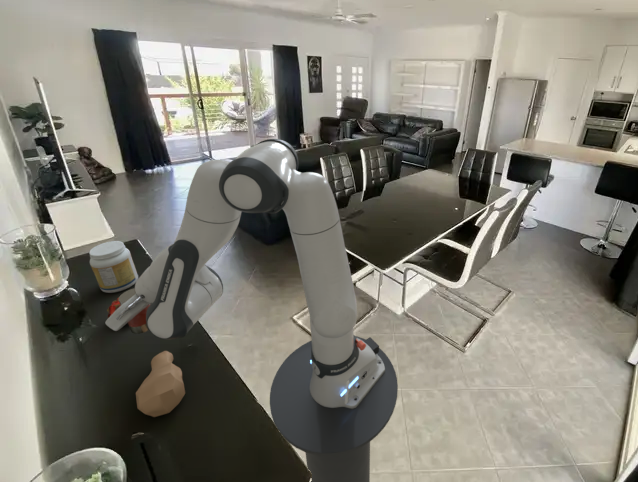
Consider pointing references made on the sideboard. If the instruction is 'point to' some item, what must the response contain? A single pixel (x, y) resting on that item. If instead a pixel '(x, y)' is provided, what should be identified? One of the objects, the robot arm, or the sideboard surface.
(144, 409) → the squash
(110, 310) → the dragon fruit
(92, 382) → the sideboard surface
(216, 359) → the sideboard surface
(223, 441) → the sideboard surface
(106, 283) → the supplement tub
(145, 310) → the tin
